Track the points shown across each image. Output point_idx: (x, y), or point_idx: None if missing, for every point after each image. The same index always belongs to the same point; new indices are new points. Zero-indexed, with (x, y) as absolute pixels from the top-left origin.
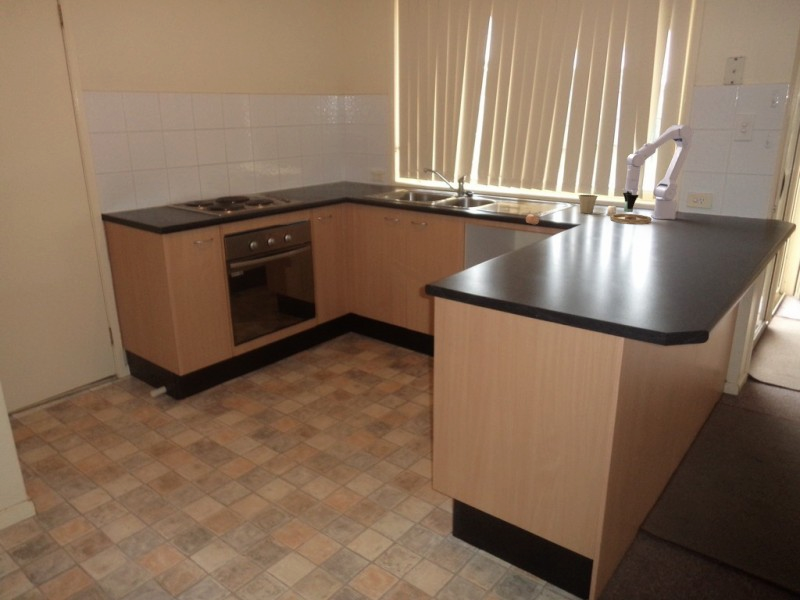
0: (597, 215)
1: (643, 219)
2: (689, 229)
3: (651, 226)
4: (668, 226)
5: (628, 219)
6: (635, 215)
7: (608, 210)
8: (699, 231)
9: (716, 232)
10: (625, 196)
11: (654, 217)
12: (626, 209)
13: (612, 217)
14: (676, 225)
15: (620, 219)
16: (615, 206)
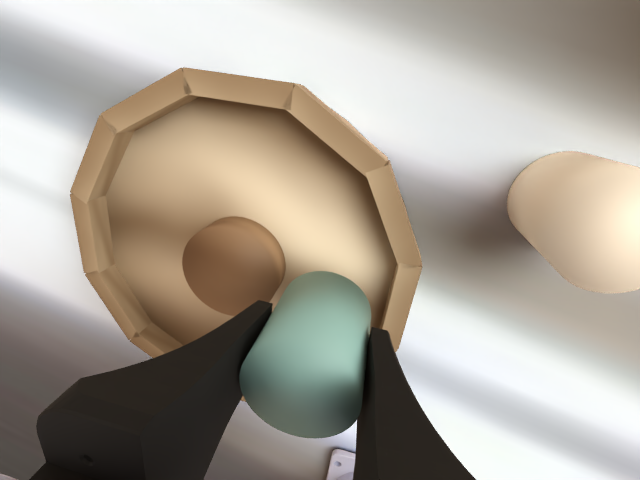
0: (606, 7)
1: None
2: None
3: (51, 293)
4: None
5: (86, 191)
6: None
7: (585, 163)
8: (8, 431)
9: (16, 472)
10: (370, 446)
11: (349, 458)
12: (287, 291)
13: (177, 71)
14: None
15: (100, 125)
16: (619, 287)
